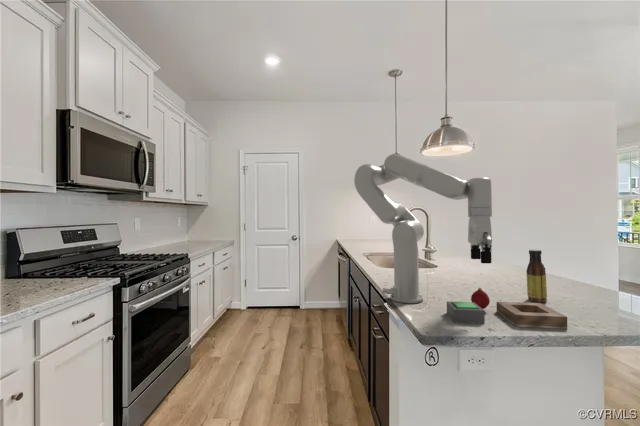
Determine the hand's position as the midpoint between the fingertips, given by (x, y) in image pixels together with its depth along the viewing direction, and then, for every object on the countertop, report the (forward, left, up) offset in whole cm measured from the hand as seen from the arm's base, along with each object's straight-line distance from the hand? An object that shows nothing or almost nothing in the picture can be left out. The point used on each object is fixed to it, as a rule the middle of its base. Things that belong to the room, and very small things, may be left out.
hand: (480, 261), depth 108 cm
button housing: (-8, -9, -18) cm, 21 cm away
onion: (0, 0, -18) cm, 18 cm away
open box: (+12, -8, -18) cm, 23 cm away
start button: (-8, -9, -16) cm, 20 cm away
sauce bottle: (+26, +15, -18) cm, 35 cm away
